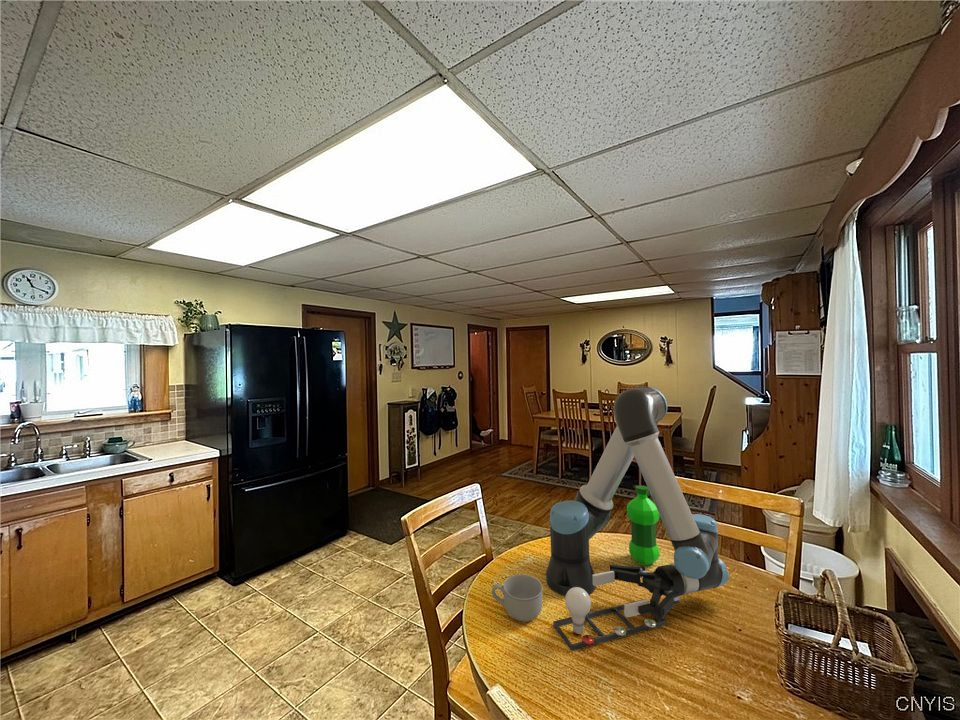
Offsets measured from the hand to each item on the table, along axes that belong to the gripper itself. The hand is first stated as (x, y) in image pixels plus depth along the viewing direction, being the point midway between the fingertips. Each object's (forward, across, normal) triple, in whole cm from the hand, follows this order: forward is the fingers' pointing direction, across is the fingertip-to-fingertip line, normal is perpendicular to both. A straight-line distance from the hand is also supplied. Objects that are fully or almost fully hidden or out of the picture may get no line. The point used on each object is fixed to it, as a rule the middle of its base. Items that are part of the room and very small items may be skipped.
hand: (608, 594), depth 97 cm
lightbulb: (+9, 0, -8) cm, 12 cm away
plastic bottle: (-30, +24, -8) cm, 39 cm away
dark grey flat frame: (0, 0, -8) cm, 8 cm away
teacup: (+20, +12, -8) cm, 25 cm away
